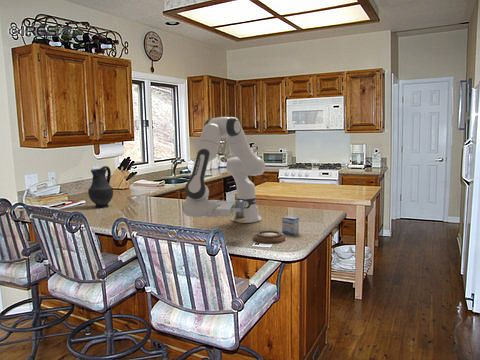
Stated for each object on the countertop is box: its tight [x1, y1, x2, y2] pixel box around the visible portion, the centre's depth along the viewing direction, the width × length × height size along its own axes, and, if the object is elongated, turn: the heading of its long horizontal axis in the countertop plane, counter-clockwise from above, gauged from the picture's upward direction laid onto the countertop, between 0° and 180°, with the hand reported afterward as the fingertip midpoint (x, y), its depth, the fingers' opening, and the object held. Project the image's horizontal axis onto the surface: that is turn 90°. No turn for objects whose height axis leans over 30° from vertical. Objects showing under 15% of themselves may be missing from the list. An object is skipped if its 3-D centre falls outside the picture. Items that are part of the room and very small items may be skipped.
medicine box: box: [281, 215, 300, 236], centre depth 216 cm, size 8×4×9 cm, turn 52°
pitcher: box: [87, 165, 114, 209], centre depth 303 cm, size 17×21×30 cm
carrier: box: [253, 229, 286, 244], centre depth 205 cm, size 16×16×3 cm
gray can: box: [233, 200, 246, 223], centre depth 205 cm, size 6×6×10 cm
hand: (241, 208), depth 205 cm, fingers closed on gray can, 4 cm apart
